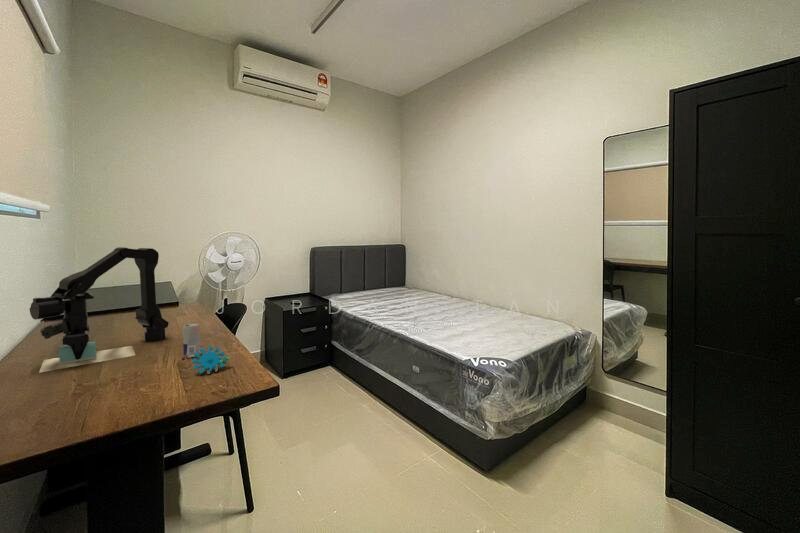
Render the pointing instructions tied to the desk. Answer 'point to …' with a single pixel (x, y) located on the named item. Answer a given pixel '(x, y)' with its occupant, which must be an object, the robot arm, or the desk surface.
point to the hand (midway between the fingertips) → (78, 357)
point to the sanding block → (68, 355)
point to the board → (100, 356)
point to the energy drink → (191, 339)
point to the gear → (210, 359)
